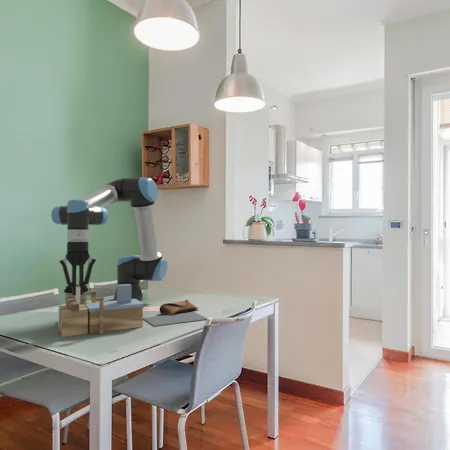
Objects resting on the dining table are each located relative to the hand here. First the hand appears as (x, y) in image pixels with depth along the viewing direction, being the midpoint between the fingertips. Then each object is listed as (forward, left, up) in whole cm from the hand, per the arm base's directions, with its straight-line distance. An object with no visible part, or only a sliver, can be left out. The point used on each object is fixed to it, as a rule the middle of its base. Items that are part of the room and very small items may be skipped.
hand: (77, 303), depth 148 cm
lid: (0, +14, -2) cm, 14 cm away
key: (0, -2, -1) cm, 2 cm away
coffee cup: (-13, +2, -11) cm, 17 cm away
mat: (0, +40, -10) cm, 41 cm away
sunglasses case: (-12, +47, -10) cm, 49 cm away
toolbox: (0, +9, -10) cm, 14 cm away
